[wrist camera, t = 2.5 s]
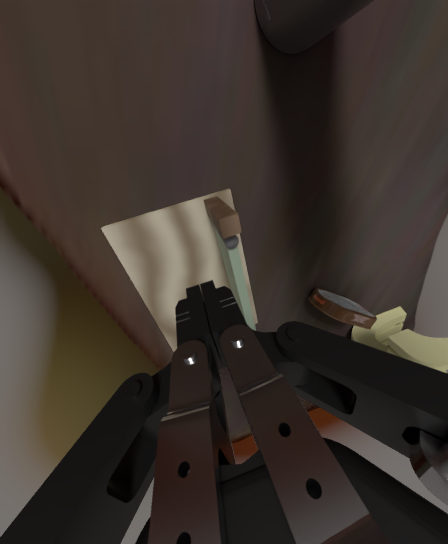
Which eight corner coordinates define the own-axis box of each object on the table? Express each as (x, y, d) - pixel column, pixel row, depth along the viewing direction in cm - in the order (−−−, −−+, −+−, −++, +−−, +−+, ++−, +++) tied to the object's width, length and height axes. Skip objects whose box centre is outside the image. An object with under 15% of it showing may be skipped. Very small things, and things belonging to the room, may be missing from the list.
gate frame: (228, 188, 29) (256, 204, 20) (256, 320, 43) (279, 364, 34) (102, 226, 28) (70, 262, 19) (174, 349, 42) (176, 403, 33)
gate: (220, 213, 29) (237, 233, 22) (245, 315, 40) (262, 349, 33) (209, 217, 29) (223, 237, 22) (237, 317, 40) (252, 353, 33)
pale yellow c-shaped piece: (347, 303, 48) (429, 372, 33) (408, 280, 49) (514, 337, 34) (340, 373, 64) (393, 441, 49) (385, 355, 65) (451, 416, 50)
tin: (300, 293, 43) (326, 321, 36) (308, 281, 42) (337, 307, 34) (346, 308, 49) (376, 334, 42) (355, 297, 48) (388, 323, 40)
